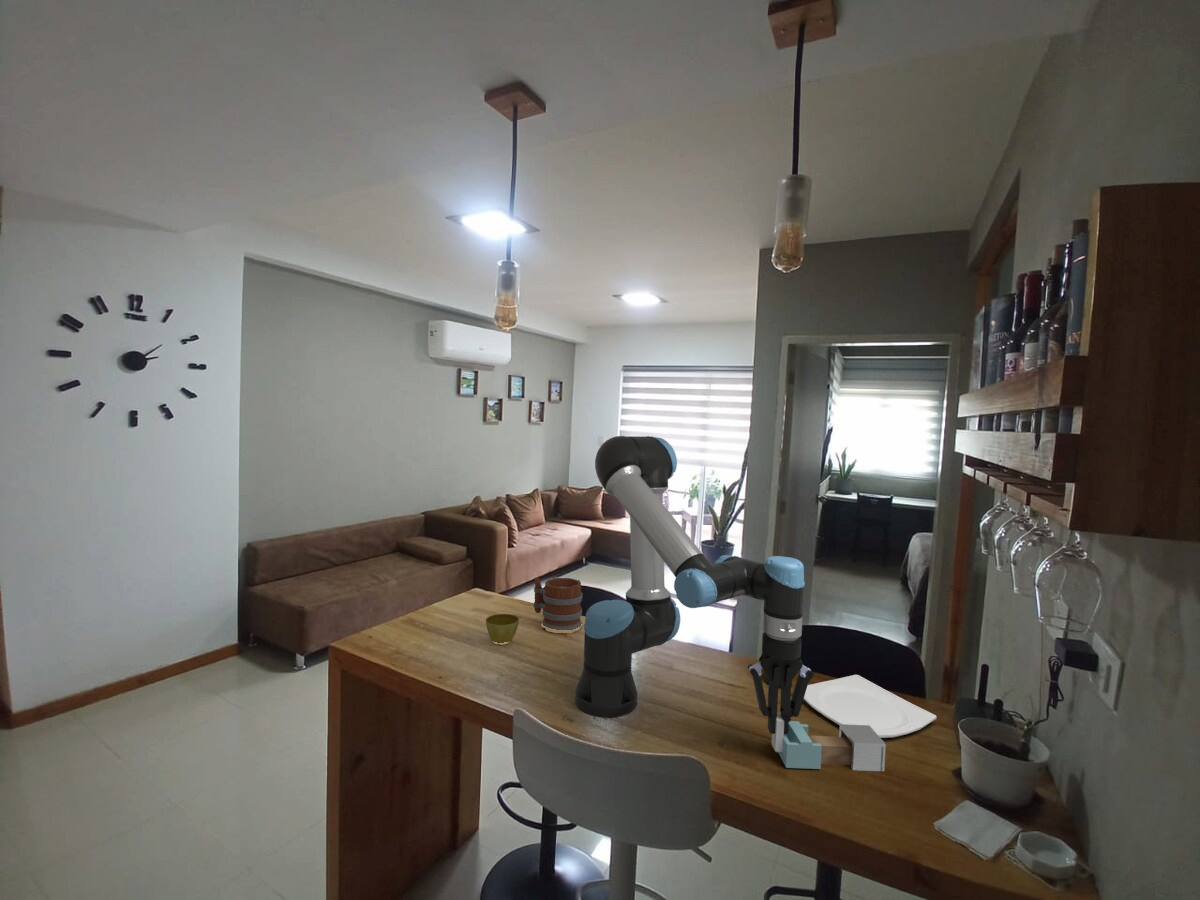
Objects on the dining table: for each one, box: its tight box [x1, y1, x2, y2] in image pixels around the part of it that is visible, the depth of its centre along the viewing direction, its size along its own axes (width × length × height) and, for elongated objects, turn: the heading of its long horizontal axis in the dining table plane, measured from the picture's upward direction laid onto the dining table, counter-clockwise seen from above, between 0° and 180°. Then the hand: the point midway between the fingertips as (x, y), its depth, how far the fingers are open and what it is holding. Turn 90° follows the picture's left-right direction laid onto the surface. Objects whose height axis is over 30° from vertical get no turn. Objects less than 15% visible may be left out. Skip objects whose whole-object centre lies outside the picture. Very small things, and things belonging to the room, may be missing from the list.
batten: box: [808, 735, 852, 766], centre depth 109 cm, size 12×4×4 cm, turn 89°
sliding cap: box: [777, 720, 822, 770], centre depth 109 cm, size 7×8×5 cm
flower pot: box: [485, 613, 520, 643], centre depth 163 cm, size 10×10×7 cm
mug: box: [533, 577, 583, 630], centre depth 178 cm, size 14×19×15 cm
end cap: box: [838, 724, 887, 772], centre depth 109 cm, size 6×7×6 cm
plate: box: [803, 674, 938, 739], centre depth 129 cm, size 24×24×3 cm
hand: (777, 748), depth 109 cm, fingers closed
